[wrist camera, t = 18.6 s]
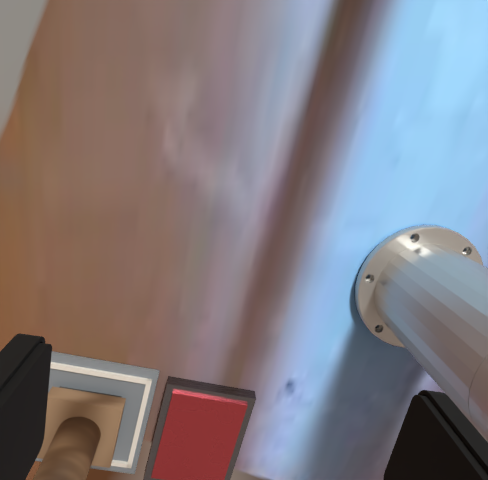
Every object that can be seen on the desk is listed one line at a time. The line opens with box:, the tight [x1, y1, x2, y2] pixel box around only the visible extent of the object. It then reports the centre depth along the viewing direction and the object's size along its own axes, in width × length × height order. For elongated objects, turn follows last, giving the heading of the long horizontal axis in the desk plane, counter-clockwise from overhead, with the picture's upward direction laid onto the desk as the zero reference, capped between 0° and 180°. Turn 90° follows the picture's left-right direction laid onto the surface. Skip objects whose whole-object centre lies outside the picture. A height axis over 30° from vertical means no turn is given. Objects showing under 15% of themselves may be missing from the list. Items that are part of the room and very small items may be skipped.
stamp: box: [33, 386, 126, 480], centre depth 36 cm, size 7×7×9 cm
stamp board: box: [35, 351, 160, 474], centre depth 40 cm, size 12×13×1 cm
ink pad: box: [143, 376, 256, 480], centre depth 42 cm, size 9×12×2 cm
